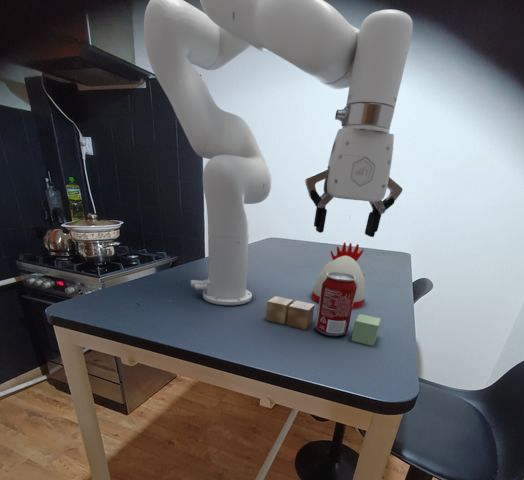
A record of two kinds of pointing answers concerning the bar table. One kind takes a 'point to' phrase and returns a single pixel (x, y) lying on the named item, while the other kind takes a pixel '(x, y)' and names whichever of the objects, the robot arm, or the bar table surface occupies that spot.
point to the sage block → (366, 329)
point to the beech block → (300, 314)
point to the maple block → (278, 309)
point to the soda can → (336, 303)
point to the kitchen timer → (344, 264)
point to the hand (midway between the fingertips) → (344, 233)
